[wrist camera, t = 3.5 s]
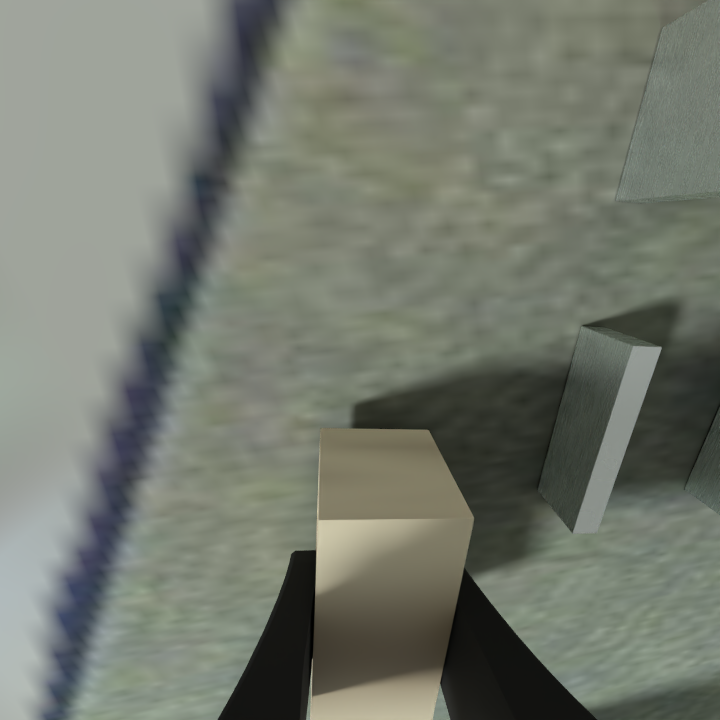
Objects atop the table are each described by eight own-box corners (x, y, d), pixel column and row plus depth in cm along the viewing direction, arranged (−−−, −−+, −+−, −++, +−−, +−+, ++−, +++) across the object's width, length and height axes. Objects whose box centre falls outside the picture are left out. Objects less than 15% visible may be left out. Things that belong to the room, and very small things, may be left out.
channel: (703, 489, 14) (763, 530, 12) (537, 489, 13) (572, 533, 11) (772, 335, 12) (856, 355, 10) (581, 326, 11) (633, 346, 9)
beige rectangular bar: (400, 621, 14) (425, 751, 10) (313, 624, 13) (309, 760, 10) (428, 429, 11) (473, 518, 8) (320, 428, 11) (318, 520, 7)
